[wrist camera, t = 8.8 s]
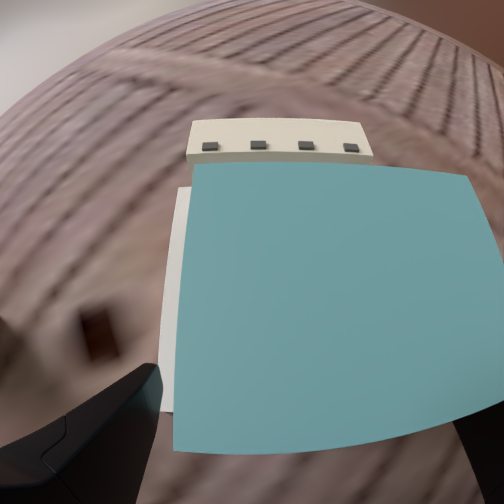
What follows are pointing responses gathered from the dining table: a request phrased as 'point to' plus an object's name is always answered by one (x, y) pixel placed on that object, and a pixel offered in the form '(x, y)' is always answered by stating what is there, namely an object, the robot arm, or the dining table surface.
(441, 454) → the dining table surface
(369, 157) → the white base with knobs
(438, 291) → the tall teal pillar
